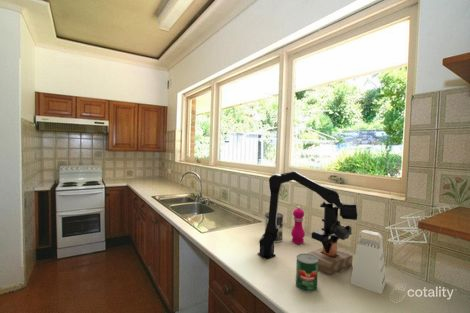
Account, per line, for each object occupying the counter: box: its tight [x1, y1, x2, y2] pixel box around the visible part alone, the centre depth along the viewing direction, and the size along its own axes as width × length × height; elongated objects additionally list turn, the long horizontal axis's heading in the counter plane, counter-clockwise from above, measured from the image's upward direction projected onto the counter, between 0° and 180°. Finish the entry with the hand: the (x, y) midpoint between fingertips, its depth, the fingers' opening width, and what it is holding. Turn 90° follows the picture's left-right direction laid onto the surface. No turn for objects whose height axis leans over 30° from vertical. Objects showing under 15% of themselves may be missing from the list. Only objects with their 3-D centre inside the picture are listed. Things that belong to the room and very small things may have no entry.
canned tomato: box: [295, 253, 319, 293], centre depth 93 cm, size 8×8×11 cm
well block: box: [306, 247, 354, 277], centre depth 110 cm, size 16×12×5 cm
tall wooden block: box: [322, 241, 338, 258], centre depth 109 cm, size 3×5×7 cm, turn 33°
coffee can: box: [264, 212, 284, 243], centre depth 139 cm, size 10×10×14 cm
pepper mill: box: [290, 205, 306, 245], centre depth 135 cm, size 7×7×20 cm
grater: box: [350, 229, 387, 295], centre depth 96 cm, size 10×10×20 cm
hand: (329, 251), depth 110 cm, fingers closed on tall wooden block, 3 cm apart
